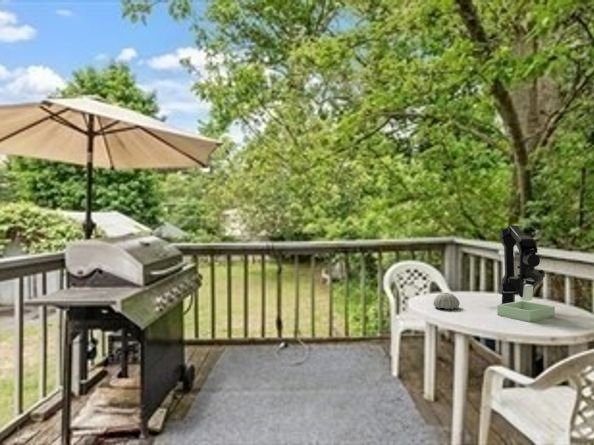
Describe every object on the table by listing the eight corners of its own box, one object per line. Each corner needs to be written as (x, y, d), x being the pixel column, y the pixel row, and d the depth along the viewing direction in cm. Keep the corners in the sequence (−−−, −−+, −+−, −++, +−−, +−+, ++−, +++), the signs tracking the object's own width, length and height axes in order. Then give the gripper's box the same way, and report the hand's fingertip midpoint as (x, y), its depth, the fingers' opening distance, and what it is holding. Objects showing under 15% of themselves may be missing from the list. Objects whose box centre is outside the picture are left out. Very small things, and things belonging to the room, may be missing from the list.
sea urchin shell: (431, 305, 307) (430, 291, 307) (456, 305, 307) (456, 290, 306) (436, 311, 294) (436, 295, 294) (462, 310, 294) (462, 295, 293)
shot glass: (515, 298, 281) (515, 284, 280) (529, 297, 281) (529, 283, 281) (522, 301, 274) (522, 286, 274) (536, 300, 275) (536, 286, 274)
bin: (521, 310, 291) (521, 300, 290) (554, 316, 275) (554, 306, 275) (497, 315, 281) (497, 305, 281) (530, 322, 266) (530, 311, 265)
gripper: (527, 267, 265) (527, 301, 266) (552, 264, 275) (552, 296, 276) (507, 265, 274) (507, 297, 275) (532, 261, 284) (532, 293, 285)
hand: (525, 296), depth 278 cm, fingers closed on shot glass, 6 cm apart
